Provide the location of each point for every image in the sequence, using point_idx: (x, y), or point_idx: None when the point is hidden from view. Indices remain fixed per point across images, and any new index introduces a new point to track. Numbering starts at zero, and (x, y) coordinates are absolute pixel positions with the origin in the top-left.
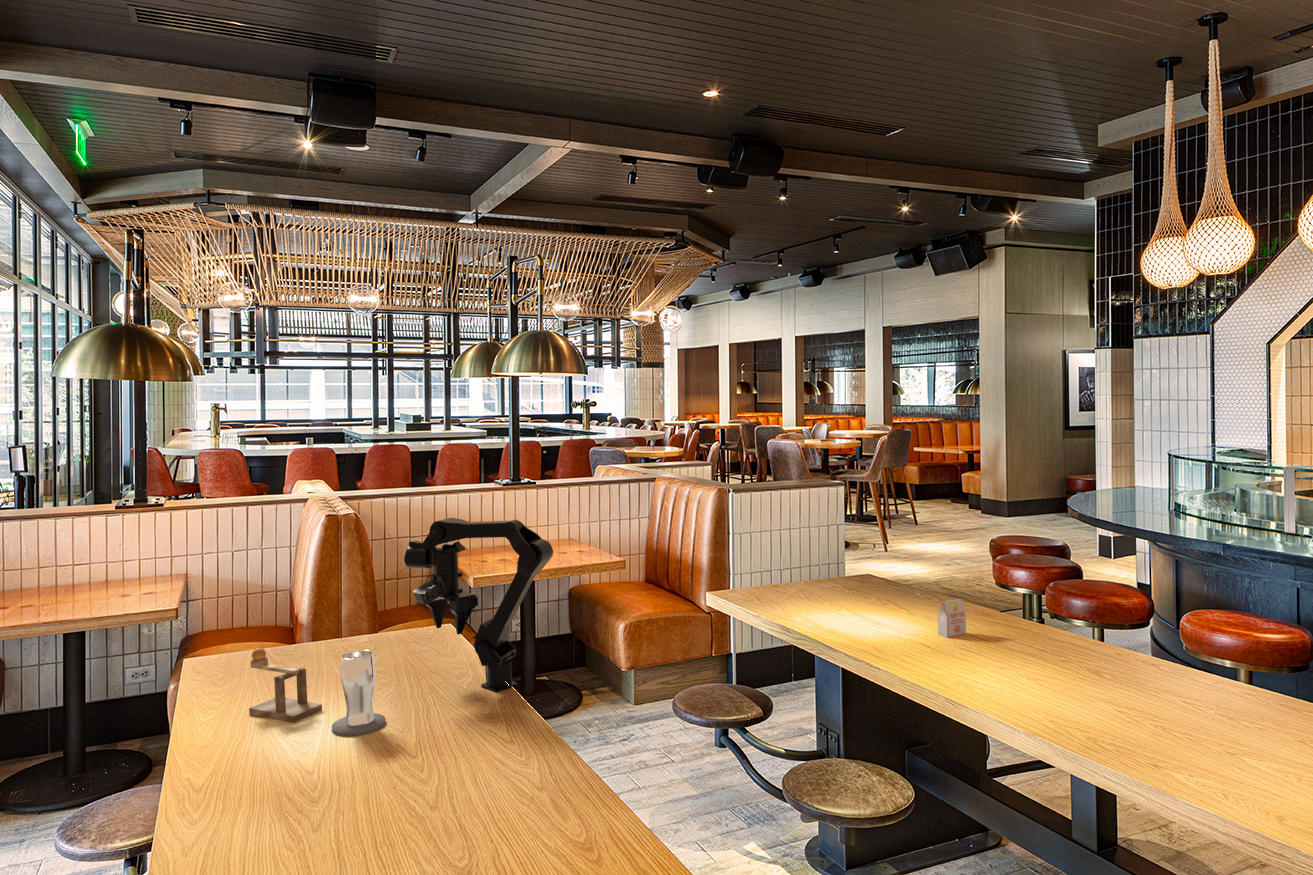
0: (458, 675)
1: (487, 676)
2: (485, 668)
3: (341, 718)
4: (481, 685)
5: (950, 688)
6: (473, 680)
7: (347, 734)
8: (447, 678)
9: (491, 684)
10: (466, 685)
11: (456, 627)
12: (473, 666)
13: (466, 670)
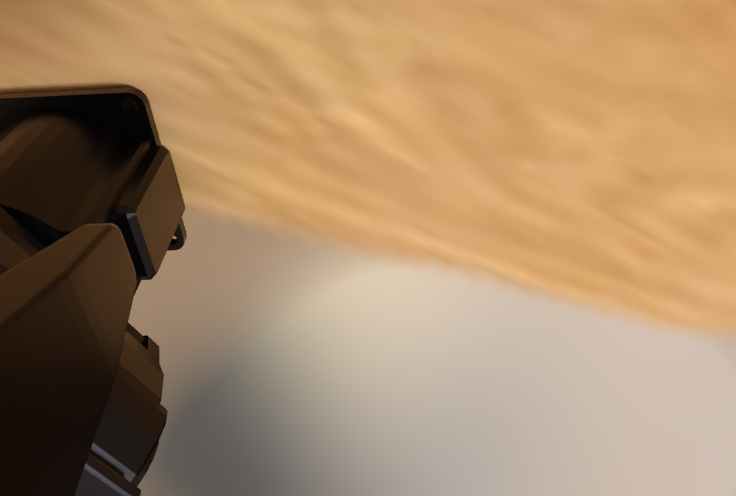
0: (500, 108)
1: (47, 143)
2: (133, 195)
3: None
4: (128, 90)
5: None
6: (314, 122)
7: None
8: (513, 14)
9: (18, 120)
10: (247, 30)
11: (6, 291)
12: (567, 259)
13: (541, 196)
